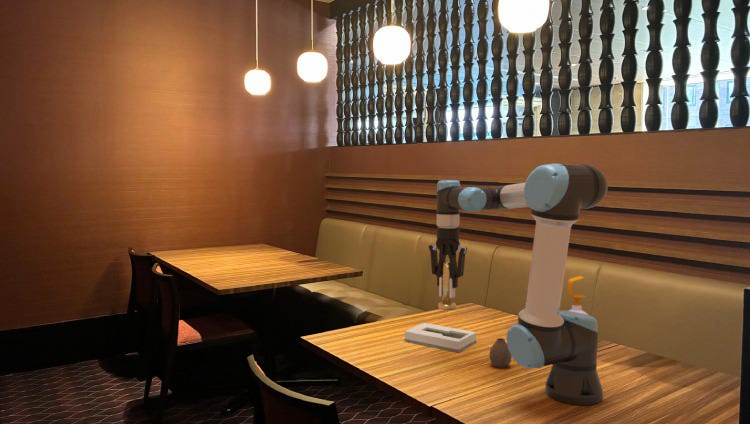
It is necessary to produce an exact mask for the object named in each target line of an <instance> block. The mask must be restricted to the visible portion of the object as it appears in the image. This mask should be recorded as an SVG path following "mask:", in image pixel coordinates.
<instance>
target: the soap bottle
mask: <svg viewBox="0 0 750 424" xmlns="http://www.w3.org/2000/svg"><path fill="white" fill-rule="evenodd" d="M582 280H584V276H582V275H578V276H575V277H571V278H570V279H568V281H567V294H568V295H569V296H570V297H572V299H573V300H574V302H571V309H569V310H568V311H572V312H578V313H583V314H587V315H589V314H588V313H587V312H586V311H585V310H583V303H581V302H580V300H582V298H583V299H585V298H586V295H584V294H581V293H573V286H574V284H575V283H576V282H579V281H582Z"/></svg>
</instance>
